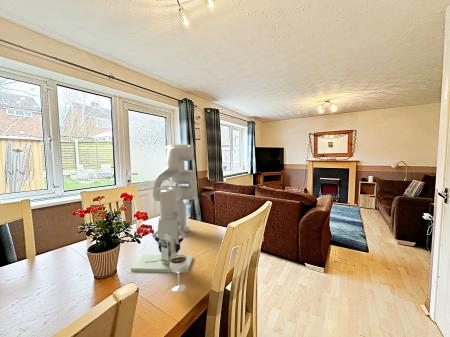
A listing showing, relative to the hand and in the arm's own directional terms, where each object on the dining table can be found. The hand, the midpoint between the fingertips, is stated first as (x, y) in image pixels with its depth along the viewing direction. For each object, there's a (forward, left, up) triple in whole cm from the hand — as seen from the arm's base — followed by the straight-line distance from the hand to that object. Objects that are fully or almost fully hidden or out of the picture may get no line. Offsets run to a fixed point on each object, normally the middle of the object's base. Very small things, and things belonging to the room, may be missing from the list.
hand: (169, 250), depth 94 cm
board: (0, -3, -7) cm, 7 cm away
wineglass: (+16, +9, -7) cm, 20 cm away
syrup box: (0, 0, -5) cm, 5 cm away
